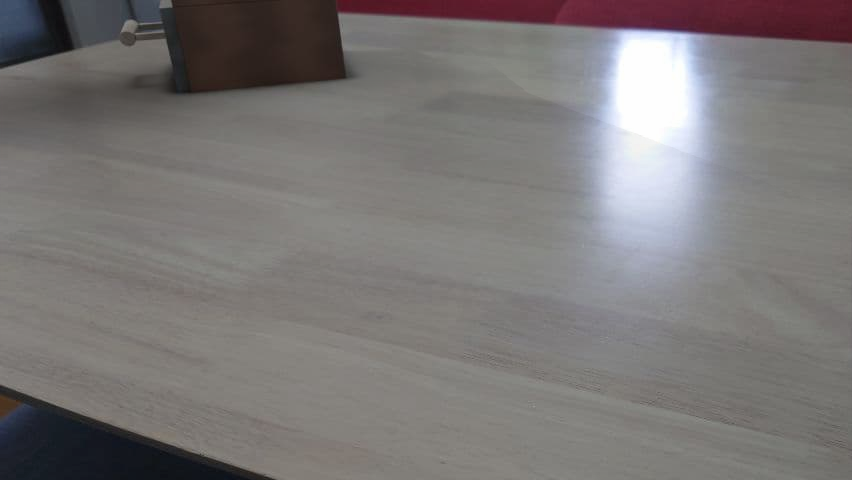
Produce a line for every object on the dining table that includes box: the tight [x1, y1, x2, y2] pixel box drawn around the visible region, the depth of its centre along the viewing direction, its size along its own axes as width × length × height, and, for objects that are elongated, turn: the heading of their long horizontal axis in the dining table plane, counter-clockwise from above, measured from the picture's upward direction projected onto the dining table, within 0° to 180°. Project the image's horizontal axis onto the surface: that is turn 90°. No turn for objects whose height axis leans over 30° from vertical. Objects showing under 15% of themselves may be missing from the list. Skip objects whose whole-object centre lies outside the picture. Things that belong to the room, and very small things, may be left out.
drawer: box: [118, 0, 191, 94], centre depth 82 cm, size 18×11×8 cm, turn 110°
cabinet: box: [171, 0, 347, 94], centre depth 83 cm, size 15×13×10 cm
